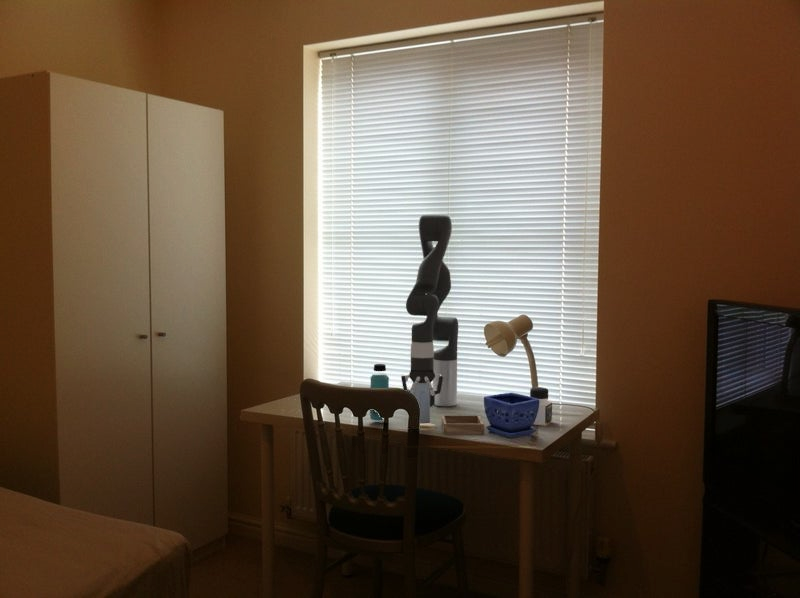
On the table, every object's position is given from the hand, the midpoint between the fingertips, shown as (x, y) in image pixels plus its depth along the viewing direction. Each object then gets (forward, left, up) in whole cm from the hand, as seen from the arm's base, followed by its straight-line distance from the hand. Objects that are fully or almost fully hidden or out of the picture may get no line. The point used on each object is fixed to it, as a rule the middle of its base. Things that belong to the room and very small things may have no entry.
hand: (421, 406), depth 238 cm
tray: (+3, +13, -7) cm, 15 cm away
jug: (0, 0, -5) cm, 5 cm away
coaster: (0, 0, -7) cm, 7 cm away
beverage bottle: (-7, -14, -7) cm, 17 cm away
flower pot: (+8, +28, -7) cm, 30 cm away
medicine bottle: (-8, +40, -7) cm, 41 cm away
